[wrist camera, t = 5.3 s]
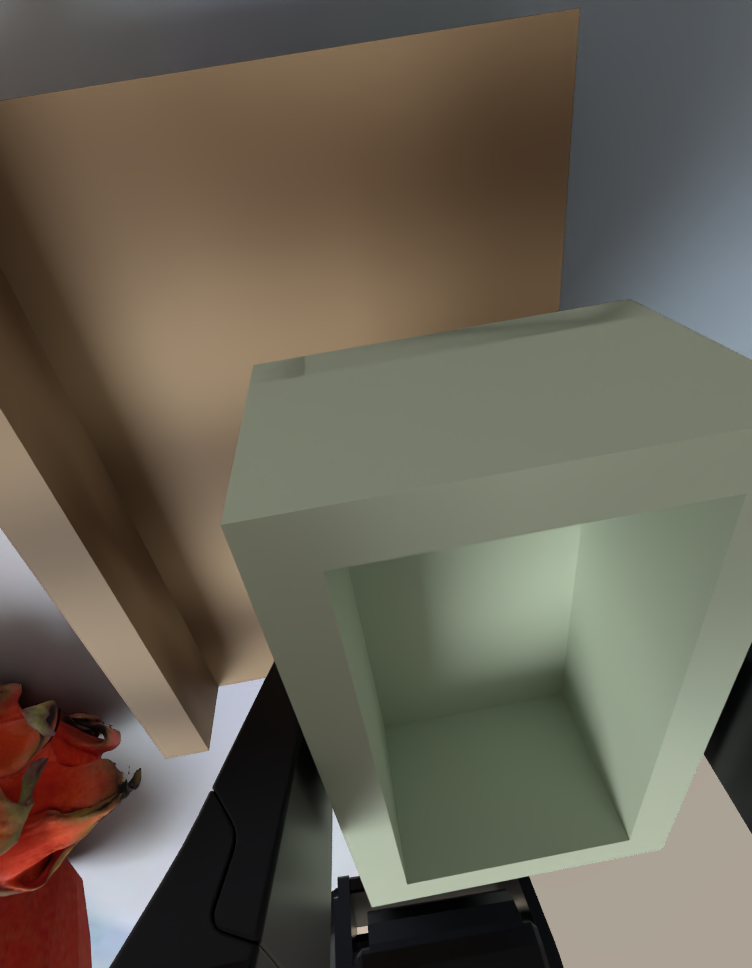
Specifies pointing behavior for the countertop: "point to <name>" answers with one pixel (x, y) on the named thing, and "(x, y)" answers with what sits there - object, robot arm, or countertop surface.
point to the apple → (46, 924)
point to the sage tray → (501, 583)
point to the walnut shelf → (242, 301)
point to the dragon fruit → (51, 787)
